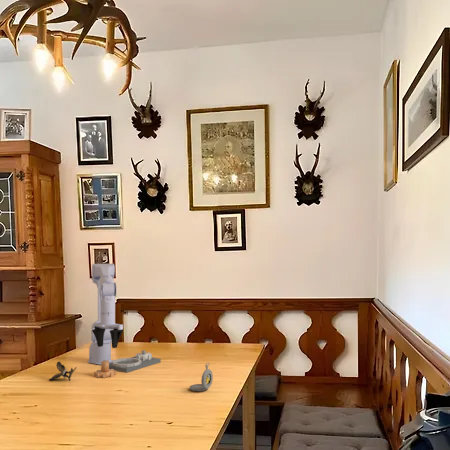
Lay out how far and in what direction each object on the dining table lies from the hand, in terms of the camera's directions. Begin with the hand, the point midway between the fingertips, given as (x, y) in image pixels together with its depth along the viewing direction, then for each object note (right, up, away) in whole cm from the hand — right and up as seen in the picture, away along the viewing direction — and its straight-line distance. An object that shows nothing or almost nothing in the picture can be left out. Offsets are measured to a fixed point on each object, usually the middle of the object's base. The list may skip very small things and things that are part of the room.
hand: (107, 347), depth 184 cm
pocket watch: (+39, -10, -20) cm, 45 cm away
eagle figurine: (-16, -11, -6) cm, 21 cm away
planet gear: (-1, -11, 0) cm, 11 cm away
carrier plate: (+7, -12, +16) cm, 21 cm away
